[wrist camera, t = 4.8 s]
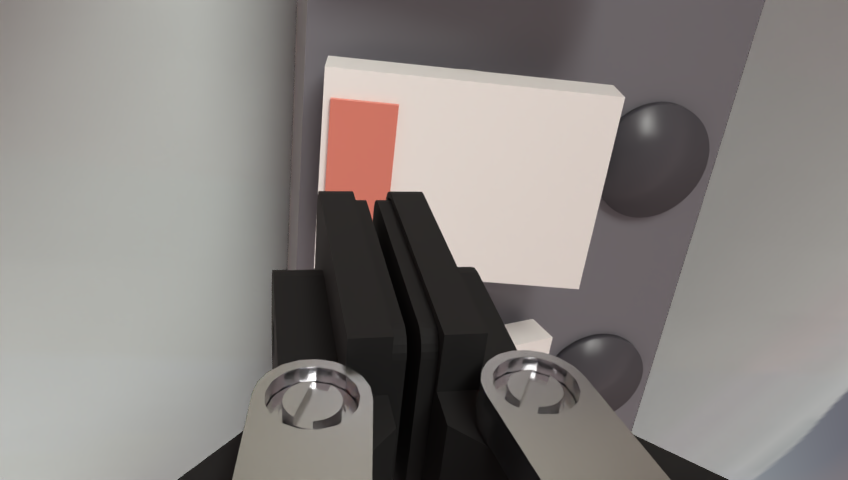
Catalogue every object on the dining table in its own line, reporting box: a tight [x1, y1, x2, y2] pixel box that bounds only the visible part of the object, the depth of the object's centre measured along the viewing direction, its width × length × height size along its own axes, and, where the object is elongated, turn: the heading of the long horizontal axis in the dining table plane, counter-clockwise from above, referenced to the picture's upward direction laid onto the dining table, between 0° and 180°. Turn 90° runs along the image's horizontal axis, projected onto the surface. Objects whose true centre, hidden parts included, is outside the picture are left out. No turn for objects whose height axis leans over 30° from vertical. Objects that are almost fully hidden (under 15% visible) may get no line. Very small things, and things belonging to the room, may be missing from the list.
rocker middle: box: [314, 56, 625, 289], centre depth 22 cm, size 8×6×2 cm
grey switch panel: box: [287, 0, 765, 431], centre depth 25 cm, size 14×36×4 cm, turn 174°
